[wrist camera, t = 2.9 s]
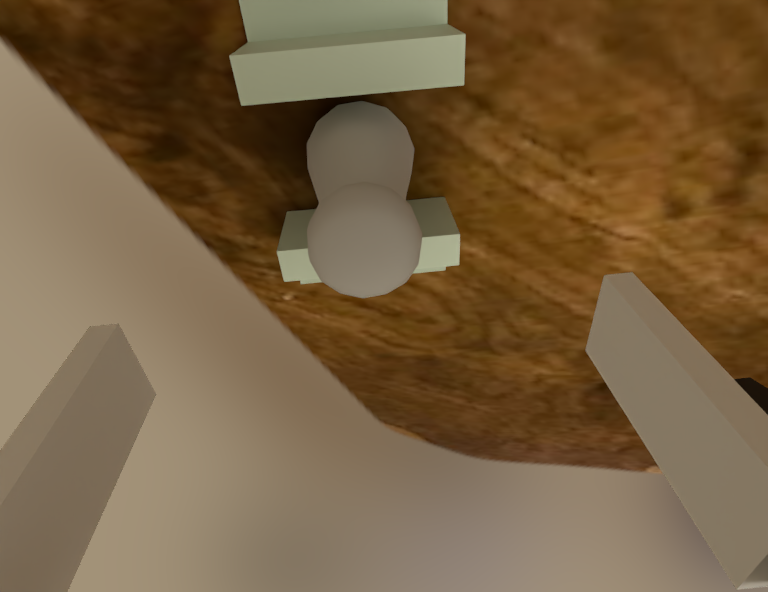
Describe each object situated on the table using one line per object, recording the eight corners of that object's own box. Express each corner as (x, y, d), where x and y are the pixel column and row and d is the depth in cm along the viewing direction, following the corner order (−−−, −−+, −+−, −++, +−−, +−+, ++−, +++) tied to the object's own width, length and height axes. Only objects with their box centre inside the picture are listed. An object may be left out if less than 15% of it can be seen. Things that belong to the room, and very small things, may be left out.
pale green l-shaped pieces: (233, -36, 21) (206, -37, 17) (445, -55, 21) (468, -61, 17) (301, 279, 32) (294, 324, 28) (444, 265, 32) (457, 308, 28)
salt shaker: (371, 68, 24) (388, 143, 14) (427, 154, 27) (477, 271, 17) (288, 134, 26) (247, 246, 15) (349, 208, 29) (350, 345, 18)
